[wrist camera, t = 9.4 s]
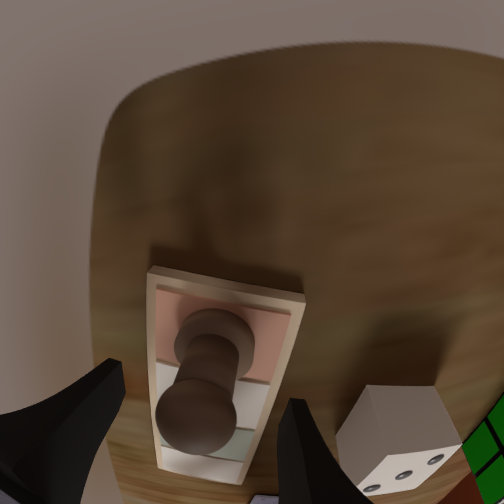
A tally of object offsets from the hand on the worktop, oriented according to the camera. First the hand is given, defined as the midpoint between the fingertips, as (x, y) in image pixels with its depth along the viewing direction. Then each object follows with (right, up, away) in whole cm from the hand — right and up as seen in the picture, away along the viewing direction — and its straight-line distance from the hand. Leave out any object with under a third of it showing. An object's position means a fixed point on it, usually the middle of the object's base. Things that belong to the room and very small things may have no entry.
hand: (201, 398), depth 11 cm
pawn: (0, +1, +4) cm, 4 cm away
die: (+12, -6, +7) cm, 15 cm away
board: (-1, -5, +8) cm, 9 cm away
